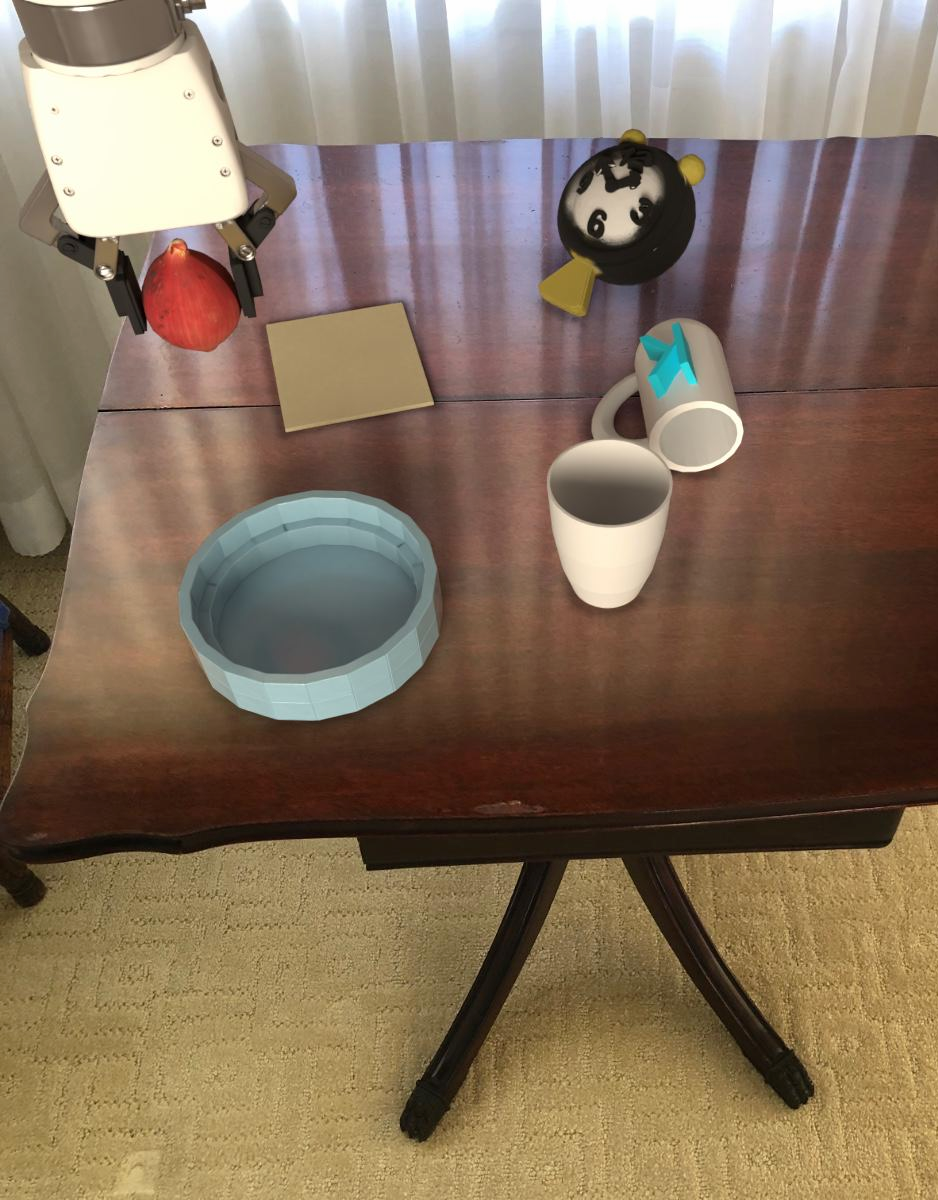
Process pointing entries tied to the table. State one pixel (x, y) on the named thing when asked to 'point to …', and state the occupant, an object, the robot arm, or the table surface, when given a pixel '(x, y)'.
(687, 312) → the table surface
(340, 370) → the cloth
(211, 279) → the onion
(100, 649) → the table surface
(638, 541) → the cup
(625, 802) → the table surface
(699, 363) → the mug
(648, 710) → the table surface
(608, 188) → the alarm clock
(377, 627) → the pan
